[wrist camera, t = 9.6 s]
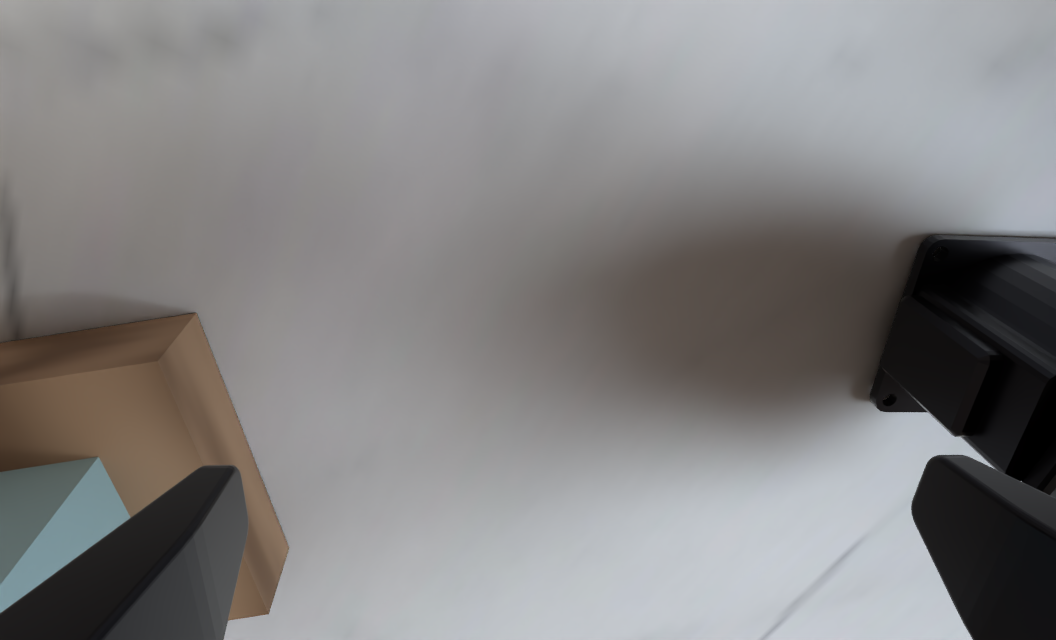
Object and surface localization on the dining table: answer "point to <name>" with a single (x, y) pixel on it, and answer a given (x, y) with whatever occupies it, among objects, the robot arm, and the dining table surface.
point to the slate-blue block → (52, 520)
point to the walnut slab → (138, 424)
